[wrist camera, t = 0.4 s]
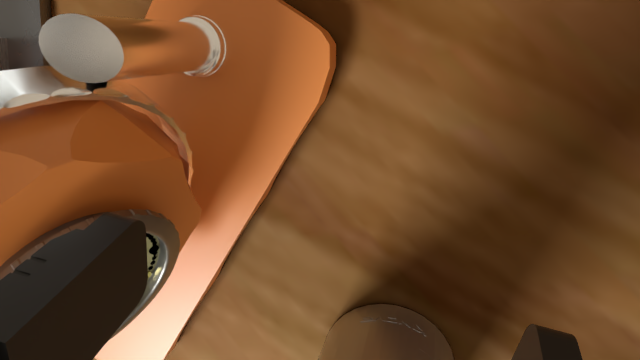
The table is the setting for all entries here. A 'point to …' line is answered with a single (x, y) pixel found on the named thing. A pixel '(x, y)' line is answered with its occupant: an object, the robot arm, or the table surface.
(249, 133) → the desk clock
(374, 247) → the table surface
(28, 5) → the chuck block
